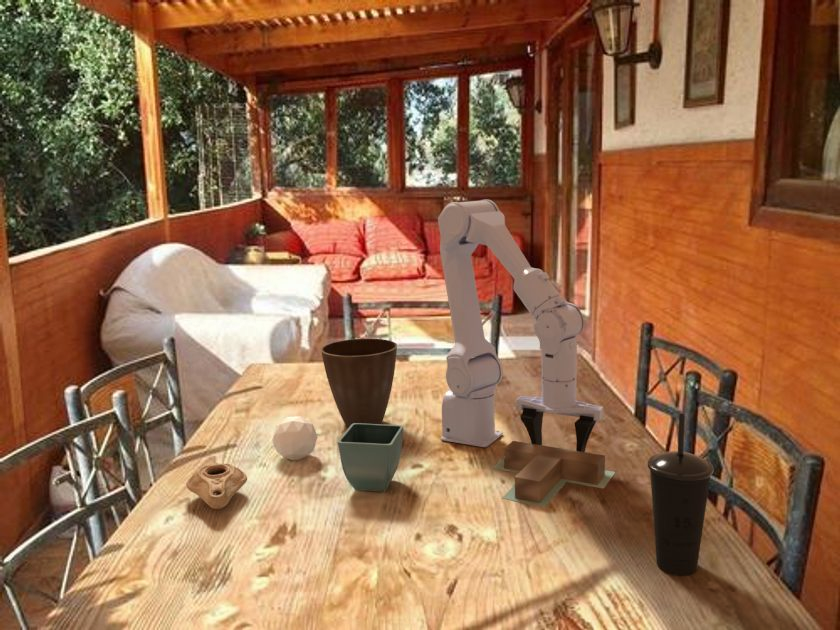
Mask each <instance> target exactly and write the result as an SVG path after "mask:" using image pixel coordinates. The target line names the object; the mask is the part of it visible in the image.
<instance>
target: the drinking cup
mask: <svg viewBox="0 0 840 630" xmlns="http://www.w3.org/2000/svg"><path fill="white" fill-rule="evenodd" d="M685 419H686V414H684V413H679V414H678V432H677V433H678V435H677V436H678V437H677V438H678V439H677V450H676V451H667V452H662V453H661V452H660V453H657V454H654V455H652V456H651V457H649V458H648V460H647V468H648V469H649V471H650V473H649V474H650V475H649V476H650V486H651V488H650V489H651V501H652V514H653V515H652V519H653V529H654V530H653V531H654V544H655V546H654V547H655V559H656V565H657V567H658V569H660V571H663V572H664V573H667V574H668V575H673V576H681V577H682V576H689V575H692V574H695V572H696V571H697V569H698V564H699V563H698V562H699V556H700V551H701V543H702V536H703V529H704V522H705V517H706V516H705V514H706V510H707V501H708V495H709V489H710V481H711V476H712V475H713V474H714V468H715V467H714V466H713V464H712V463H711V462H710V461H709V460H707V459H706V458H703V457H701V456H698V455H696V454H693V453H691V452H690V453H689V452H687V451H684V450H685V449H684V448H685V430H686V429H685V427H686V424H685V423H686V420H685Z"/></svg>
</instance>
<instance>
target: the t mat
mask: <svg viewBox="0 0 840 630" xmlns="http://www.w3.org/2000/svg"><path fill="white" fill-rule="evenodd" d="M492 469H495V470H499V471H505V472H510V473H516V474H518V473H519V472H520V471H517V470H511V469H506V468H504V457H503V458H502V459H501V460H499V461H498V462H497V463H496V464H495V465H493V466H492ZM615 474H616V471H613V470H606V469H605V476H604V477H603V479H602V480H601V481H600V483H599V484H598V485H595V484H589V483H584V482H578V481H572V480H567V479H560V481H559V482H558V483H557V484H556V485H555V486H554V487H553V489H552V490H551V491H550V492H549V493H548V494H547V495H546V497H545V498H544V499H543V500H542V501H541V502H540V503H536V502H531V501H526V500H521V499H516V498H515V484H514V485H513V486H512V487H511V488H510V489H509V490H508V491H507V492H506V493H505V494H504V495H503V496H502V497H501V499H503V500H509V501H512V502H513V501H514V502H518V503H523V504H527V505H532V506H537V507H541V508H542V507H543V508H546V507H547V505H549V503H550V502H551V500H553V499H554V498H555V496H556V495H557V494H559V492H560V490H562V488H563V487H564V486H565V485H566V484H567V483H570V484H571V483H572V484H576V485H582V486H587V487H592V488H596V489H597V488H598V489H603V490H604V489H605V487H607V485H608V483H609V482H610V481H611V479H612V478H613V476H615Z"/></svg>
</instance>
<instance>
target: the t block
mask: <svg viewBox="0 0 840 630" xmlns="http://www.w3.org/2000/svg"><path fill="white" fill-rule="evenodd" d="M503 458H504V468H506V469H511V470H517V471H520V472H519V473H516V475H515V476H514V485H515V498H516V499H521V500H526V501H531V502H536V503H540V502H541V501H542V500H543V499H544V498H545V497H546V495H547V494H548V493H549V492H550V491H551V490H552V489H553V487H554V486H555V485H556V484H557V483H558V482H559V481H560V479H567V480H572V481H578V482H584V483H589V484H595V485H598V484H599V483H600V481H601V480H602V479H603V477H604V476H605V470H606V455H604V454H598V453H593V452H586V451H585V452H580V451H576V450H573V449H568V448H560V447H554V446H548V445H543V444H542V445H537V444H532V443H530V442H524V441H517V440H512V441H510V443H509V444H507V445H506V446H505V447H504V448H503Z"/></svg>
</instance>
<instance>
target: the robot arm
mask: <svg viewBox="0 0 840 630" xmlns="http://www.w3.org/2000/svg"><path fill="white" fill-rule="evenodd" d="M437 222H438V229H439V234H440V242H439V243H440V244H439V251H440V252H439V253H440V258H441V265H442V271H443V276H444V283H445V289H446V296H447V301H448V306H449V307H448V308H449V312H450V313H449V314H450V318H451V325H452V331H453V338H454V345H453V347H451V349H450V351H449V352H448V353H447V355H446V357H445V358H446V365H447V366H446V372H445V380H446V384H447V386H448V388H449V389H448V390H447V391H446V393H445V394H444V395H443V399H442V402H441V424H442V425H441V429H442V432H441V434H442V436H441V437H440V440H441V441H444V442H452V443H457V444H463V445H469V446H473V447H474V446H475V447H480V448H488V447H489V446H490V445H492V444H493V443H494V442H496V441H497V440H498V438H499V439H500V437H501V436H503V434H504V432H503V431H501V430H496V421H495V418H496V417H495V413H496V412H495V391H497V385H498V384H499V383H501V380H502V378H503V376H504V374H503V371H504V370H503V365H502V363H501V361H500V359H499V357H498V355H497V351H496V347H495V345H494V344H492V343H491V342H490V341H488V340H487V339H486V338H485V332H484V331H485V330H484V325H483V320H482V313H481V307H480V301H479V296H478V295H479V294H478V289H477V283H476V277H475V272H474V266H473V265H474V264H473V259H472V255H473V253H474V252H475V250H477V247H478V246H479V245H481V246H482V245H483V246H486V247H488V248H489V250H490V251H491V252H492V254H493V255H494V256H495V257H496V259H497V260H498V261H499V262H500V263H501V265H502V266H503V267H504V268H505V270H506V271H507V273H509V274H510V275H511V276H512V278H513V280H514V281H513V291H514V293H515V294H516V296H518V298H519V300H520V301H521V302H522V304H523V305H524V307H525V308H526V309H527V310H528V312H529V314H530V315H531V316H532V319H534V320H535V323H533V331H534V333H535V336H536V337H537V340H538V342H539V349H540V351H541V396H525V395H523V396H522V395H521V396H519V397H517V398H516V400H515V401H516V403H515V406H516V408H515V409H516V410H517V411H522V413H521V414H520V420H521V422H522V424H523V425H524V427H525V429H526V431H527V434H528V435H529V440H530V442H531V443H530V444H537V445H543V417H544V413H546V414H551V415H562V416H570V417H577V418H578V419H577V420H576V421H575V422H574V429H575V437H576V439H575V440H576V447H575V448H576V449H575V451H580V452H586V448H587V444H588V441H589V439H590V435H591V433H592V431H593V428H594V427H595V425H596V423H597V422H600V421H602V420H603V419H604V406H602V405H601V406H600V405H594V404H591V403H587V402H583V401H579V400H577V373H578V371H577V368H578V366H577V365H578V364H577V361H578V353H577V352H578V349H577V348H578V337H577V336H579V335H580V334H581V333H582V332H583V329H584V326H585V319H584V315H583V313H582V312H581V309H580V307H579V306H578V305H576V304H574V303H571V302H568V301H567V300H566V298H564V297H563V296H562V295H560V293H559V291H558V290H557V289H556V287H555V286H554V284H553V283H552V281H550V278H551V277H550V276H549V274H548V273H547V271H545V272H544V271H543V270H542V269H540V268H535V267H532V266H531V265H530V262H529V261H528V259H527V258H526V257H525V254H524V253H523V252H522V250H521V248H520V246H519V245H518V243H517V242H516V240H515V239H514V237H513V236H512V234H511V232H510V231H509V229H508V228H507V226H506V216H505V215H504V213H503V212H502V211H501V210H500V209H499V207H498V205H497V203H495V202H494V201H493V200H491V199H486V198H485V199H481V200H473V201H461V202H460V201H459V202H457V201H452V202H450V203H448V204H447V205H445V206H444V208H443V209H442V211H441V212H440V214H439V216H438V217H437Z"/></svg>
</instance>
